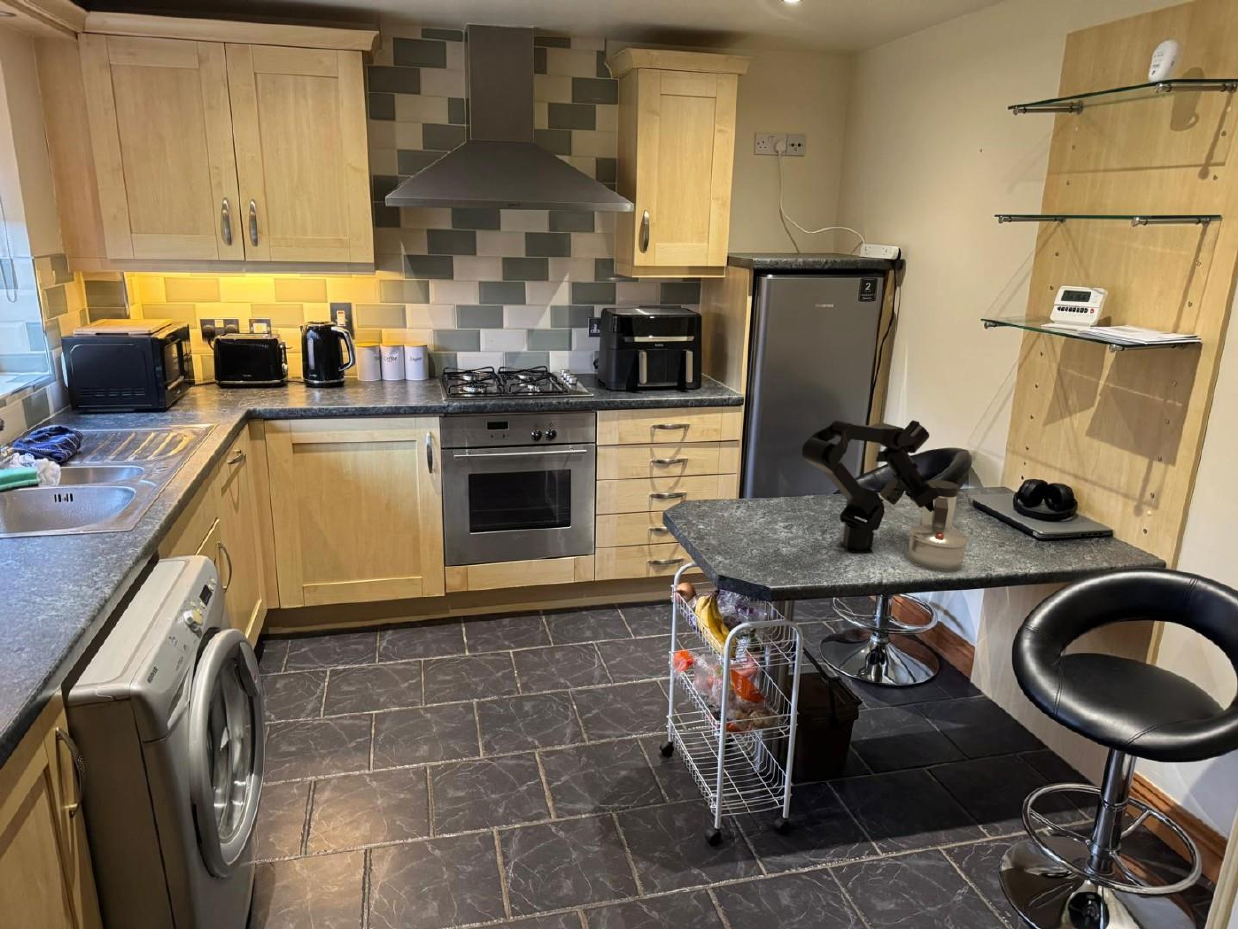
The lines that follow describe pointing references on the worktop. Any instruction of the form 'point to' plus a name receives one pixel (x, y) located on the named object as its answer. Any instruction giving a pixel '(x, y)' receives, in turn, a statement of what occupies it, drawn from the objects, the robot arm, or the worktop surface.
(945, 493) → the jar
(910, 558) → the cooker pot
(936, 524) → the cooker lid
